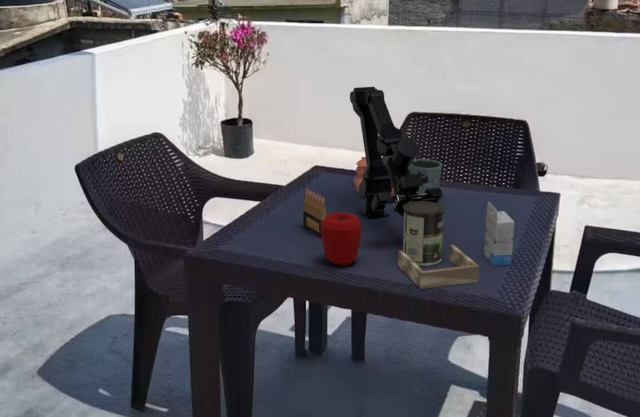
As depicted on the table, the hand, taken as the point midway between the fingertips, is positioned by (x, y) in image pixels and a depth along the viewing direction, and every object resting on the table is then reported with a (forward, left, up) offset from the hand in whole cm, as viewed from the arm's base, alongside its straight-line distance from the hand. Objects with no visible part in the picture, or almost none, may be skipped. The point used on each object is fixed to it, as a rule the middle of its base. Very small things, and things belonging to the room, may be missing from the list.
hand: (414, 227), depth 207 cm
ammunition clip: (-24, -19, -7) cm, 31 cm away
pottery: (-54, +13, -7) cm, 56 cm away
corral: (+14, -2, -7) cm, 16 cm away
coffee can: (+5, 0, -7) cm, 9 cm away
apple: (-1, -21, -7) cm, 22 cm away
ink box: (+13, +17, -7) cm, 23 cm away
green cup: (-38, +24, -7) cm, 46 cm away
